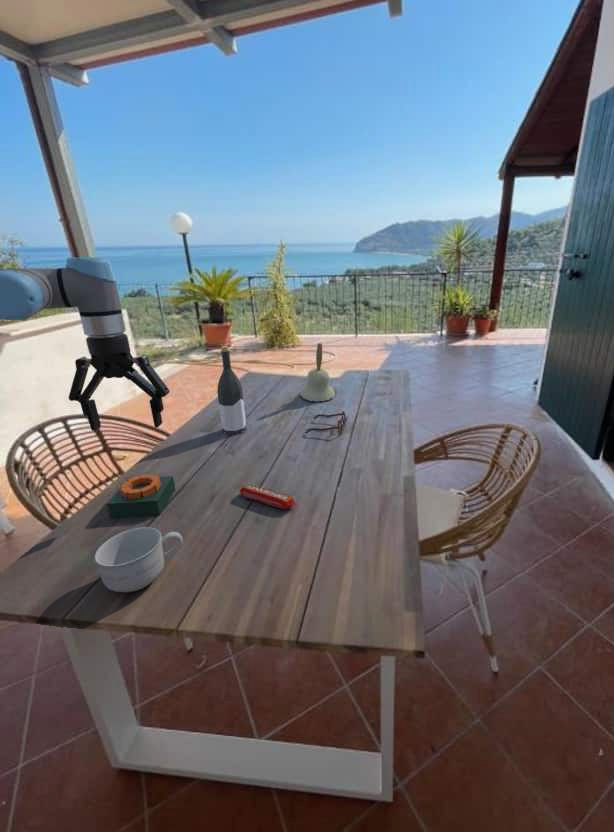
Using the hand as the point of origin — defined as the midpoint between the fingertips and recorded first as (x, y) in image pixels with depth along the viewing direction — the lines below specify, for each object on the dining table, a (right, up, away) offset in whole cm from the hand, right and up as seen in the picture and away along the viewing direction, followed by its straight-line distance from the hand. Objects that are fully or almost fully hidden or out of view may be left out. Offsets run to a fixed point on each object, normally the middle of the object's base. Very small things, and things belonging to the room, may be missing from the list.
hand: (127, 426), depth 89 cm
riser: (0, -19, +7) cm, 21 cm away
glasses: (+41, -4, +49) cm, 64 cm away
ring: (0, -16, +5) cm, 17 cm away
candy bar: (+30, -19, +7) cm, 37 cm away
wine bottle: (+9, -5, +48) cm, 49 cm away
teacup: (+13, -28, -15) cm, 34 cm away
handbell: (+35, +7, +81) cm, 89 cm away
